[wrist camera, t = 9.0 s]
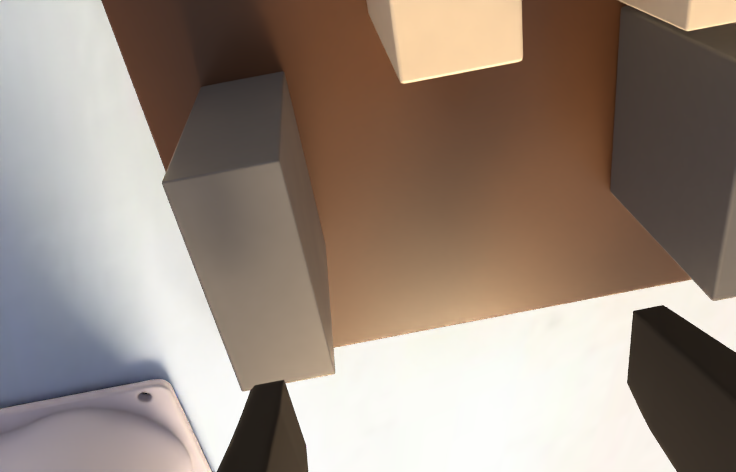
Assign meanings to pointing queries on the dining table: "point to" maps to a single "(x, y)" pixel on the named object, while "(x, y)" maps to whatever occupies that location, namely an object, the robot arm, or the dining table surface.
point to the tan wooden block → (447, 35)
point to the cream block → (688, 12)
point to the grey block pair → (302, 225)
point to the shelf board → (423, 154)
